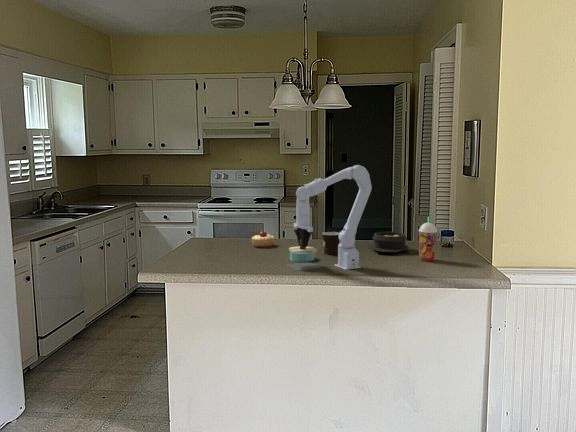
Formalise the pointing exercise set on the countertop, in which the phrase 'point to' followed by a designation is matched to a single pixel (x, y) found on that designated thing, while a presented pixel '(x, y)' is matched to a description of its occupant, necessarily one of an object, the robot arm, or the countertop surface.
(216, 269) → the countertop surface
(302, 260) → the bowl
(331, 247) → the coffee mug
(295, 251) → the lid
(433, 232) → the smoothie
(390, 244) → the casserole
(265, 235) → the pastry
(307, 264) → the mat
